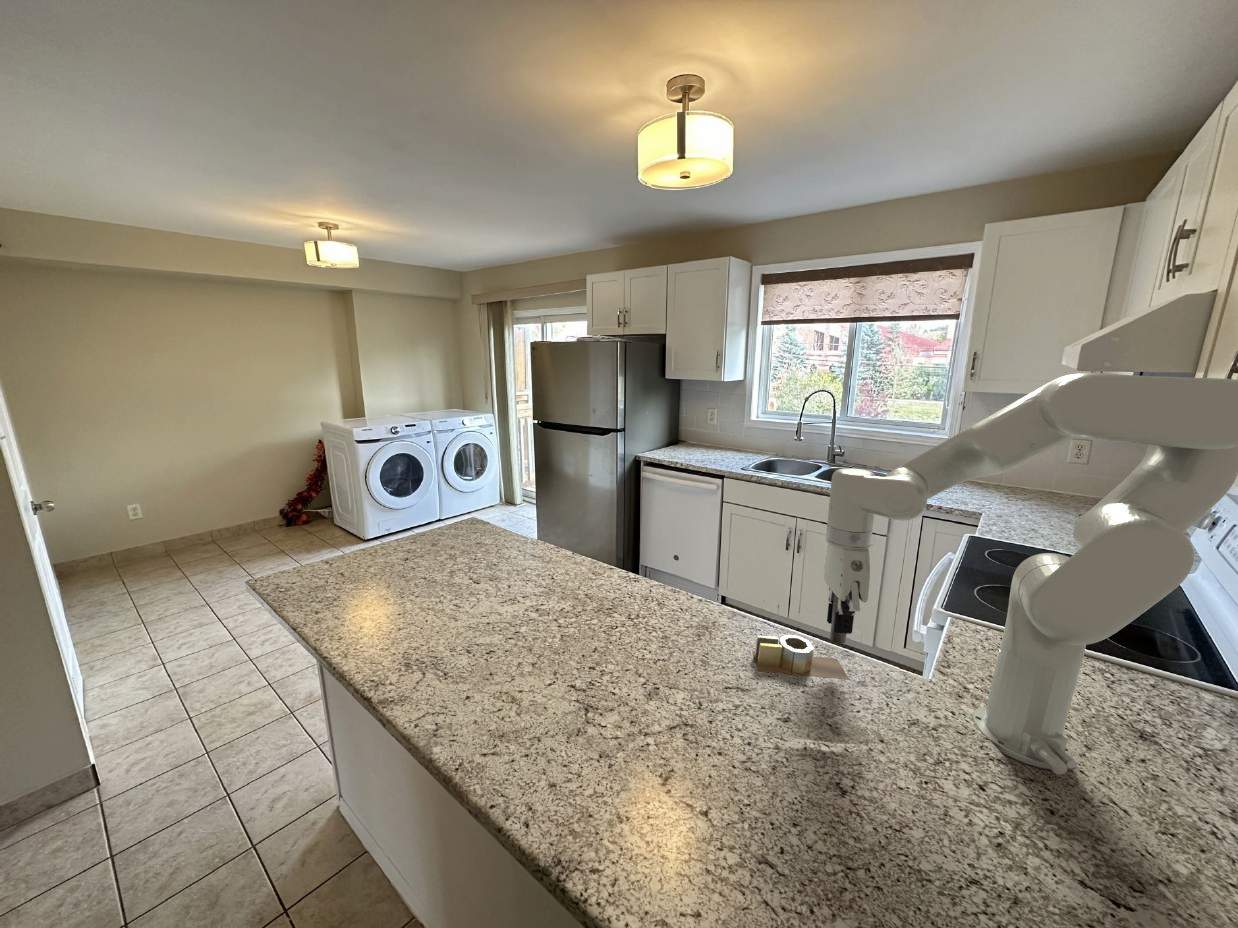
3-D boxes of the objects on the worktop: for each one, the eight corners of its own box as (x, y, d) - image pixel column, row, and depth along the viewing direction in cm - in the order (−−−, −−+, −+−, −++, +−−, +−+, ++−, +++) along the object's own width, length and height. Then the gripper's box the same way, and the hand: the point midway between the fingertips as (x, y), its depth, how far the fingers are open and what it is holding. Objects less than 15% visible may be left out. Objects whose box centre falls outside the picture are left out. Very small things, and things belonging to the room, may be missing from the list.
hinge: (813, 674, 91) (817, 653, 90) (759, 669, 92) (762, 648, 91) (804, 656, 97) (807, 636, 96) (753, 651, 98) (755, 631, 97)
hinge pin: (848, 643, 91) (852, 599, 89) (832, 643, 91) (837, 598, 89) (842, 636, 93) (846, 593, 92) (827, 635, 94) (831, 592, 92)
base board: (848, 682, 91) (849, 679, 90) (757, 674, 92) (758, 670, 92) (836, 662, 97) (836, 658, 97) (751, 654, 98) (751, 651, 98)
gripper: (890, 552, 80) (878, 652, 83) (851, 523, 96) (843, 608, 99) (844, 550, 81) (834, 650, 84) (813, 522, 97) (806, 607, 100)
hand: (839, 626), depth 92 cm, fingers closed on hinge pin, 2 cm apart
